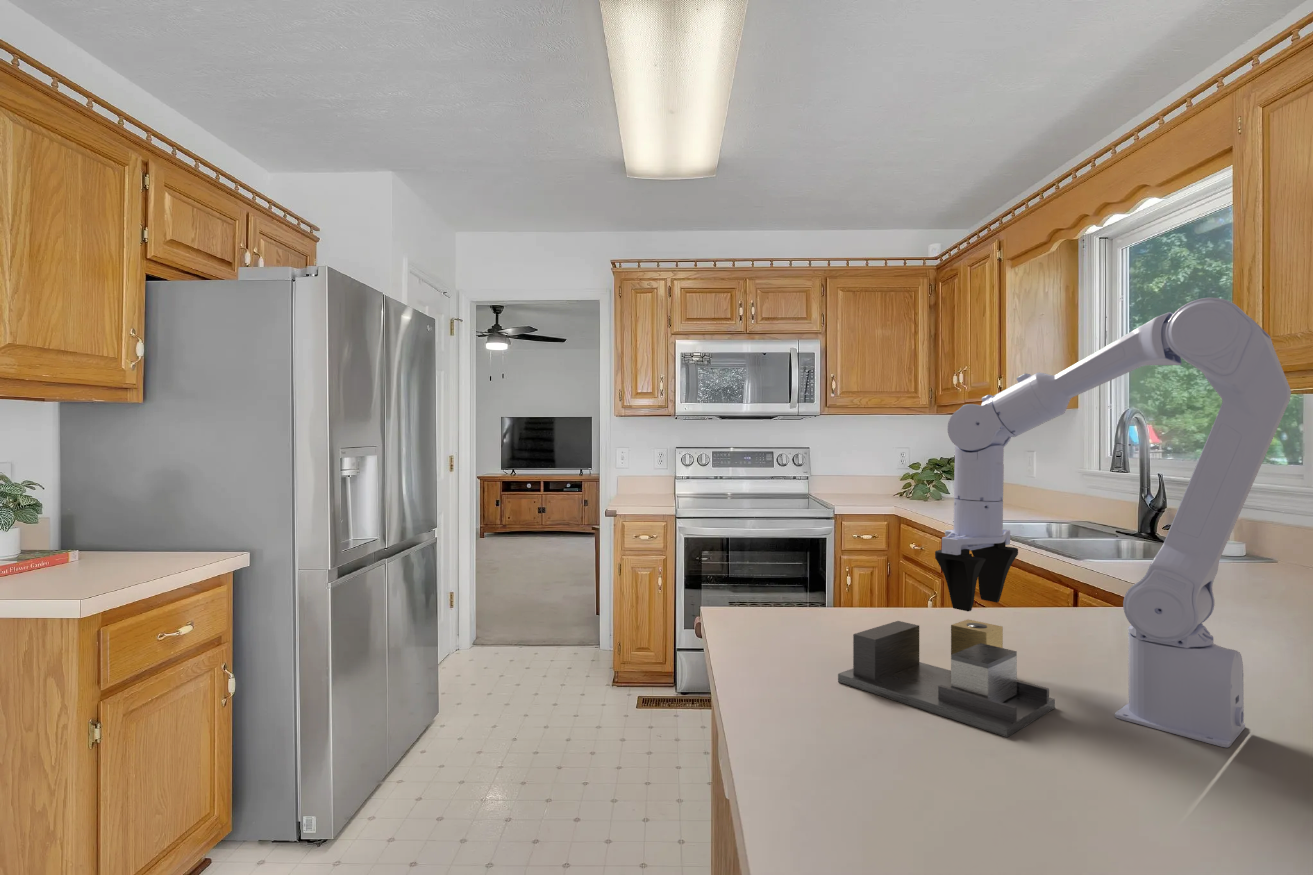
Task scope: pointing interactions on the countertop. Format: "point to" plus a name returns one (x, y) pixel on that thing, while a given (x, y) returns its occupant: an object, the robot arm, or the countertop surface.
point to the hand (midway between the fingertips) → (976, 605)
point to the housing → (974, 635)
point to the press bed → (934, 683)
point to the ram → (985, 671)
